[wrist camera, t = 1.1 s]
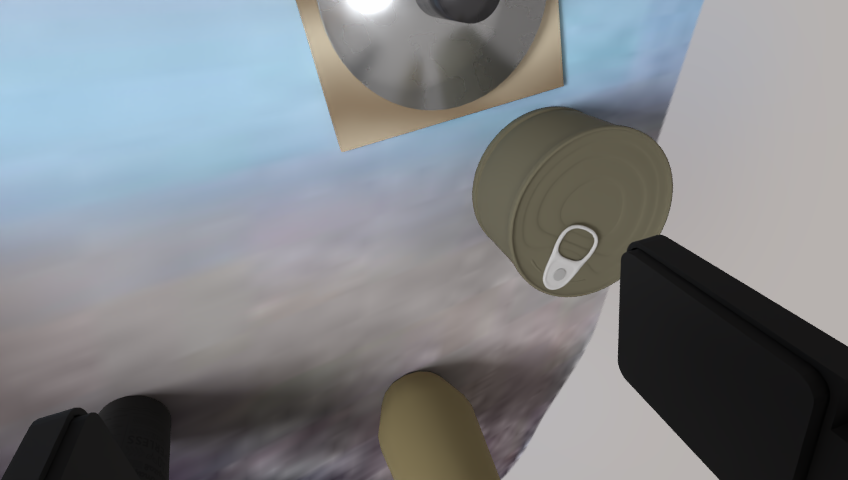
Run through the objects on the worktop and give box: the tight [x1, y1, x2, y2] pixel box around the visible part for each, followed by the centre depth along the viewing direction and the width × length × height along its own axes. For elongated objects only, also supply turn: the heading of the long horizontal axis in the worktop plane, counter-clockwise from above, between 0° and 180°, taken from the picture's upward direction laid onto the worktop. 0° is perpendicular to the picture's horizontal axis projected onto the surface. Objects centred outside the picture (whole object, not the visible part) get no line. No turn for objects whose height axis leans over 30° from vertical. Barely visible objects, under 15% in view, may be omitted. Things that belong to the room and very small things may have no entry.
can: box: [472, 107, 673, 297], centre depth 36 cm, size 12×12×7 cm
